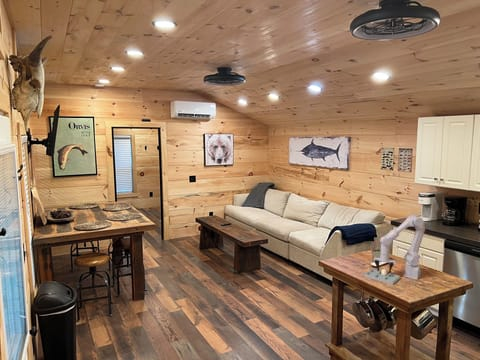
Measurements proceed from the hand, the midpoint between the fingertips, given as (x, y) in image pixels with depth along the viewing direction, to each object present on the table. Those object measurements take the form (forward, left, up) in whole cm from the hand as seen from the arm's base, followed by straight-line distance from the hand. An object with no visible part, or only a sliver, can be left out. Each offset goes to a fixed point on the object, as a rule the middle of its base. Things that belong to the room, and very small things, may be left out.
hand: (383, 271), depth 253 cm
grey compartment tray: (0, +3, -3) cm, 5 cm away
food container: (+16, -29, -4) cm, 33 cm away
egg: (0, 0, -3) cm, 3 cm away
